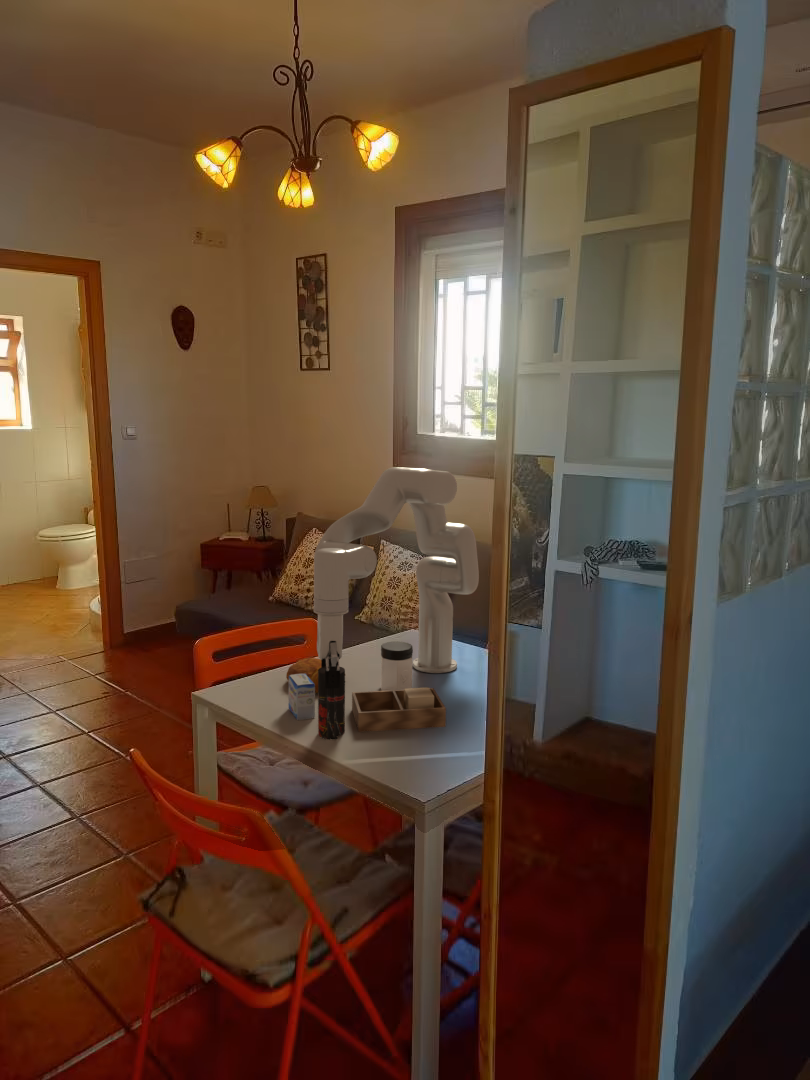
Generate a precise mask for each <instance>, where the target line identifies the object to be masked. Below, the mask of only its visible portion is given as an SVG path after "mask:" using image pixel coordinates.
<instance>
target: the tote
mask: <svg viewBox="0 0 810 1080" xmlns="http://www.w3.org/2000/svg"><path fill="white" fill-rule="evenodd" d="M429 689H430V690H431V692H432V694H433V695H434V708H423V709H405V710H404V690H388V691H381V690H375V691H374V690H371V691H353V692H351V710H352V715H353V717H354V721H355V724H356V727H357V731H358V733H361V732H362V733H363V732H365V733H366V732H378V731H379V732H380V731H395V730H396V731H397V730H411V729H413V730H415V729H430V728H445V727H446V724H447V723H446V721H447V720H446V719H447V718H446V716H447V715H446V714H447V708H446V705H445V704H444V703H443V701H442V699H441V698H440V696H439V695H438V693H437V691H436V690H435V688H434V687H433V688H432V687H429Z"/></svg>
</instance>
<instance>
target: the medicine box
mask: <svg viewBox="0 0 810 1080" xmlns="http://www.w3.org/2000/svg"><path fill="white" fill-rule="evenodd" d="M288 709H289V711H290V712H291V713H292V715H293V716H294V718H295V719H296V720H297V721H302V720H303V721H304V720H310V719H314V718H315V717H316V716H315V715H316V714H315V713H316V712H315V711H316V693H315V684H314V683H313V682H312V681H311V680H310V678H309V677H308V676H307V675H306V674H294V675H289V681H288Z"/></svg>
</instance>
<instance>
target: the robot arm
mask: <svg viewBox="0 0 810 1080" xmlns="http://www.w3.org/2000/svg"><path fill="white" fill-rule="evenodd" d="M457 491H458V483H457V479H456V477H455V475H453V473H452V472H450V471H445V470H437V469H436V470H434V469H427V468H420V467H419V468H418V467H403V466H402V467H401V466H399V467H398V466H397V467H396V466H394V467H389V468H387V469H385V470H384V471H383V472H382V473H381V475H380V476H379V478H378V479H377V481H376V482H375V484H374V486H373V487H372V489H371V491H370V492H369V493H368V495H367V497H365V500H364V502H363V503H362V505H361V506H359V507H358V508H356V509H354V510H352V511H350V512H348V513H346V514H345V515H344V516H342V517H340V518H338V519H337V520H336V521H334V522H333V523H332V524H331V525H329V527H328V528H327V529H326V530H325V531H324V534H323V535H322V537H321V538H320V540H319V542H318V544H317V546H316V548H315V551H314V555H313V613H315V614H317V626H316V627H317V630H316V631H317V634H316V651H317V655H318V659H321V667H325V666H326V670H325V688H326V689H328V688H339V687H340V669H339V666H340V660H341V659H342V657H343V645H344V644H343V640H344V639H343V637H344V636H343V635H344V615H345V614H348V613H349V586H350V585H349V584H350V583H349V580H353V579H363V578H367V577H368V576H370V575H371V574H372V573H374V571H375V569H376V567H377V563H378V558H377V554H376V553H375V552H376V551H374V550H373V548H371V547H369V546H367V545H364V544H357V543H352V541H355V540H358V539H361V538H363V537H367V536H372V535H375V534H378V533H381V532H385V531H386V530H389V529H390V528H391V527H392V526H393V524H394V523H395V521H396V519H397V517H398V515H399V514H400V512H401V510H402V508H403V507H404V505H405V504H408V505H409V506H410V509H412V513H413V519H414V526H415V534H416V541H417V545H418V546H417V547H418V550H419V551H420V552H421V553H422V554H424V555H427V556H426V557H423V558H422V559H420V560H419V562H418V563H417V565H416V570H415V576H416V583H417V588H418V589H417V590H418V601H419V602H418V603H419V604H418V641H417V642H418V646H417V647H418V650H417V658H415V659H412V668H413V669H415V670H416V671H419V672H422V673H427V674H445V673H449V672H453V671H454V670H456V669H457V667H458V662H457V660H455V659H453V629H454V628H453V625H454V624H453V623H454V622H453V621H454V620H453V619H454V605H453V602H452V599H451V597H450V596H449V594H455V595H467V596H468V595H471V594H473V593H474V592H476V590H477V588H478V586H479V583H480V582H479V580H480V579H479V578H480V575H479V574H480V571H479V562H478V561H479V560H478V550H477V540H476V535H475V532H474V531H473V528H471V527H470V525H467V524H466V523H465V524H464V523H458V522H449V521H448V519H447V516H446V508H445V506H447V505H449V504H451V502H453V500H454V499H455V498H456V495H457Z"/></svg>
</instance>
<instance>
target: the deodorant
mask: <svg viewBox="0 0 810 1080" xmlns="http://www.w3.org/2000/svg"><path fill="white" fill-rule="evenodd" d="M339 669H340V687H339V688H328V689H326V688H325V670H326V666H325V667H321V668H319V669H318V693H317V699H318V700H317V709H318V710H317V715H318V716H317V717H318V718H317V722H318V723H317V727H318V728H317V729H318V733H317V734H318V736H319V737H318V738H321V739H323V738H324V740H330V739H332V740H338V737H340V736H341V737H342V736H343V735H344V734H345V731H346V706H345V705H346V669H345V668H344V667H343V666H340V667H339Z"/></svg>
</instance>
